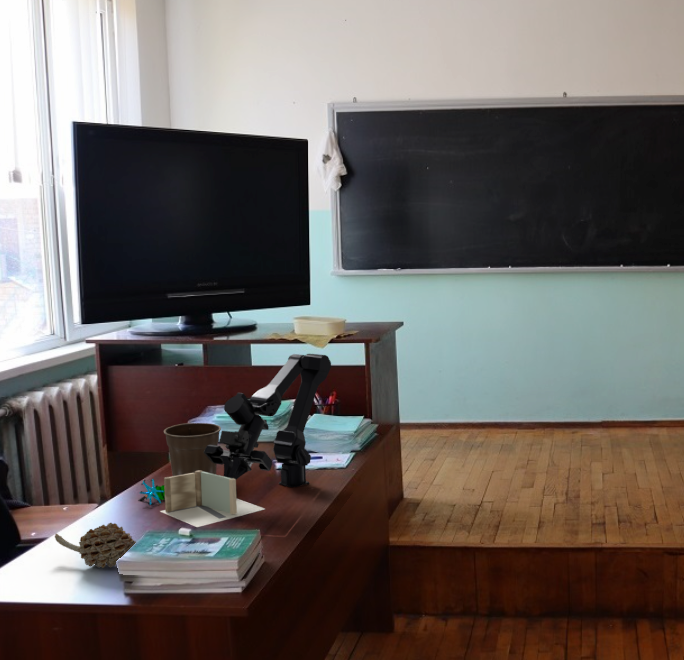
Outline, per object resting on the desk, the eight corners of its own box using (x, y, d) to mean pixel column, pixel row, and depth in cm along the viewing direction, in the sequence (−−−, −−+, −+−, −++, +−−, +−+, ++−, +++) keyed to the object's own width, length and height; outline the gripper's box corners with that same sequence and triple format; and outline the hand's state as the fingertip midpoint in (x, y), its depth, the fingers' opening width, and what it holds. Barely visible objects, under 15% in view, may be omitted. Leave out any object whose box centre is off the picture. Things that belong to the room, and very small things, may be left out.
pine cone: (147, 562, 217) (145, 519, 216) (124, 578, 208) (122, 533, 207) (63, 553, 224) (61, 511, 223) (37, 567, 215) (35, 524, 214)
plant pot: (207, 493, 269) (205, 436, 267) (155, 489, 275) (153, 433, 273) (232, 478, 285) (230, 424, 283) (183, 474, 290) (180, 421, 288)
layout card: (226, 496, 267) (226, 494, 267) (265, 510, 253) (265, 508, 253) (159, 512, 253) (159, 511, 253) (197, 528, 239) (197, 527, 239)
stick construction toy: (149, 501, 256) (141, 476, 259) (132, 513, 258) (124, 488, 261) (179, 502, 265) (171, 478, 268) (162, 514, 268) (154, 489, 271)
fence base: (201, 503, 259) (200, 470, 258) (205, 505, 257) (203, 471, 256) (164, 510, 253) (163, 476, 252) (167, 512, 251) (166, 478, 250)
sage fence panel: (201, 505, 256) (200, 472, 255) (204, 504, 257) (203, 471, 256) (233, 514, 248) (232, 480, 247) (236, 513, 249) (235, 479, 248)
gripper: (206, 415, 258) (182, 465, 250) (264, 421, 249) (241, 473, 241) (225, 437, 266) (201, 487, 258) (282, 444, 257) (260, 495, 249)
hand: (225, 485), depth 251 cm, fingers closed
